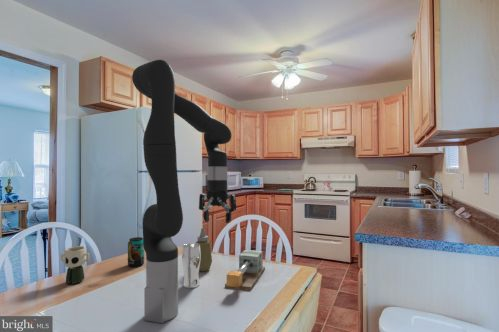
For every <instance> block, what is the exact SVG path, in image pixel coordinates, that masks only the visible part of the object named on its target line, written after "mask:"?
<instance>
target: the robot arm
mask: <svg viewBox="0 0 499 332" xmlns="http://www.w3.org/2000/svg"><path fill="white" fill-rule="evenodd" d="M131 78H132V84H133V86H134V87H135V89H136V90H137V91H138V92H139V93H140V94H142V95H144V96H145V97H146V98H148V99H150V100H151V109H150V115H149V118H148V121H147V124H146V127H145V131H144V133H143V134H144V135H143V138H142V145H143V159H144V164H145V167H146V170H147V173H148V174H149V177H150V179H151V181H152V183H153V186H154V189H155V196H156V203H153V204H151V205H150V206H148V207H147V208H146V210H145V212H144V213H143V217H142V218H143V219H142V238H143V246H144V253H145V261H146V262H145V267H146V268H145V276H146V278H145V285H146V286H145V287H144V289H143V290H144V297H143V298H144V300H143V301H144V316H143V317H144V318H143V319H144V321H146V322H151V323H152V322H153V323H157V324H164V323H165V322H167V321H170V320H173V319H174V318H175V317H176V316H178V314H179V249H178V246H177V244H176V243H175V242H174V241H173V239H172V238H173V237H175V236H176V235H177V234H179V233H180V231H181V229H182V226H183V221H184V213H183V207H182V202H181V201H182V200H181V197H180V190H179V189H180V188H179V178H178V175H179V174H178V166H177V165H178V164H177V163H178V162H177V145H176V144H177V143H176V142H177V141H176V135H175V134H176V132H175V130H176V129H175V127H176V126H175V115H177V116H178V117H180V118H181V119H182V120H184V121H185V122H186V123H187V124H189V125H190V126H191V127H193V128H194V129H195V131H197V132H199V133H203V141H204V146H205V148H206V153H207V175H206V176H207V180H206V181H207V183H206V185H207V188H206V189H207V194H206V193H199V196H198V197H199V198H198V210H200V211H202V212H203V220H204V222H206V223H207V222H209V221H210V209H211V208H212V207H215V206H216V207H222V208H223V209H224V210H225V212H226V213H225V223H226V224H229V223H230V222H231V221H232V212H235V211H237V199H236V198H237V197H236V196H237V195H236V194H229V193H228V179H229V174H228V155H227V152H226V151H224V150H221V149H220V147H219V145H225V144H228V143H229V142H230V141H231V140H232V131H231V129H230V127H229V126H228V125H227V124H225V123H224V122H222V121H221V120H218V119H217V118H215V117H213V116H211V115H210V114H209V113H208V112H207V111H206V110H205V109H204V108H203V107H201V106H200V105H199V104H198V103H195V102H193V101H192V100H190V99H189V98H188V99H187V98H186V97H183V96H181V95H179V94H178V93H176V92H175V91H176V78H175V73H174V71H173V68H172V67H171V64H169V63H168V61H166V60H163V59H155V60H152V61H149V62H146V63H144V64H141V65H139V66H137V67H135V69H134V70H133V72H132V76H131ZM206 199H207V202H206ZM228 201H230V204H229V203H228Z"/></svg>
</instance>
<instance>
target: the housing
mask: <svg viewBox="0 0 499 332" xmlns="http://www.w3.org/2000/svg"><path fill="white" fill-rule="evenodd" d="M263 259H264V258H263V251H262V250H253V249H252V250H250V249H244V250H243V251H242V252H241V253H240V254H238V269H239V268H240V267H241V266H242V265H243V264H244V263H245V262H246V261H247V260H253V263H252V264H251V265H250V267H249V268H248V269H247V270H246V271H245V272H244V274H243V275H242V284H241V285H240V286H239V287H231V286H227V281H225V283H224V287H225V288H228V289H233V290H234V289H236V290H244V291H252V290H253V289H254V287H255V285H256V284H257V282H258V281H259V280H260V277H262V275H263V273H264V272H265V270H266V266H264V265H263Z"/></svg>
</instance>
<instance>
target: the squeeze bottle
mask: <svg viewBox="0 0 499 332" xmlns="http://www.w3.org/2000/svg"><path fill="white" fill-rule="evenodd" d="M195 243H198V244H200V251H201V260H200V267H199V272H208V271H210V269H211V266H212V263H213V257H212V247H211V241H209V236H208V235H206V230H205V228H204V227H201V228H200V234H199V235H198V236H197V240H196V241H195Z"/></svg>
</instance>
